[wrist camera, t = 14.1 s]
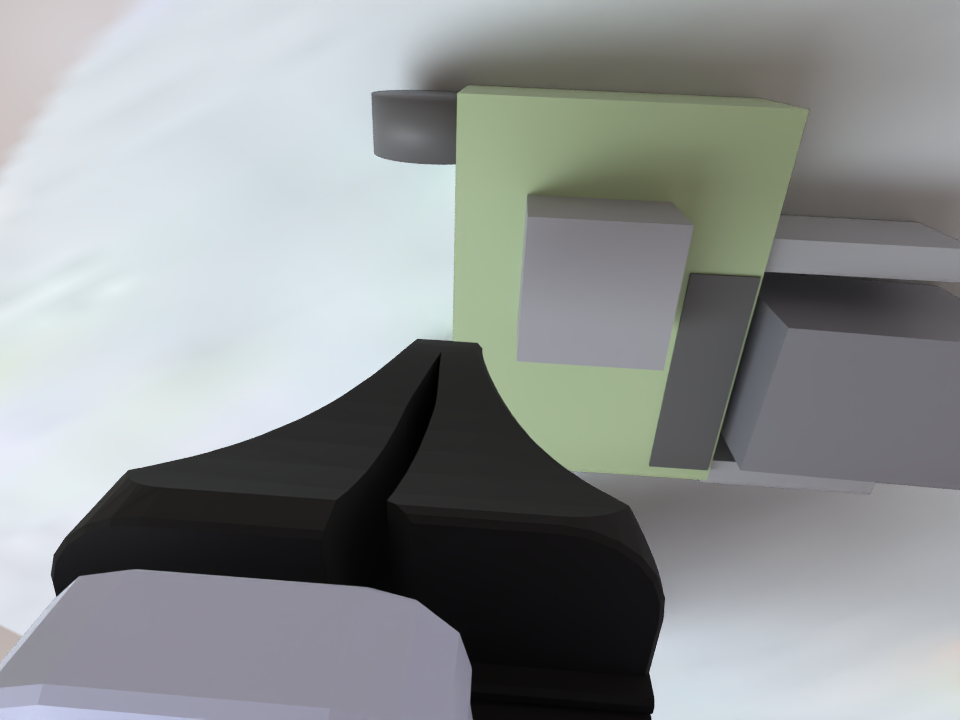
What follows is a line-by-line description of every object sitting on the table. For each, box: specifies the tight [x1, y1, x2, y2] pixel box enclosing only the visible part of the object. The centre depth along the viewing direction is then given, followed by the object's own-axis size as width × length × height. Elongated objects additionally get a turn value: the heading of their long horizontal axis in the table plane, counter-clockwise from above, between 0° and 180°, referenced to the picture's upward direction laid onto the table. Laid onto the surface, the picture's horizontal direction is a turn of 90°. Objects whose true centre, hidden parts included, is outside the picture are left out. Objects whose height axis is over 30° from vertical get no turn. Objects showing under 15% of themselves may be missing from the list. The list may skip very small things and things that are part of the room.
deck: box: [372, 85, 960, 494], centre depth 19 cm, size 12×18×6 cm
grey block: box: [721, 272, 960, 490], centre depth 20 cm, size 5×7×5 cm
